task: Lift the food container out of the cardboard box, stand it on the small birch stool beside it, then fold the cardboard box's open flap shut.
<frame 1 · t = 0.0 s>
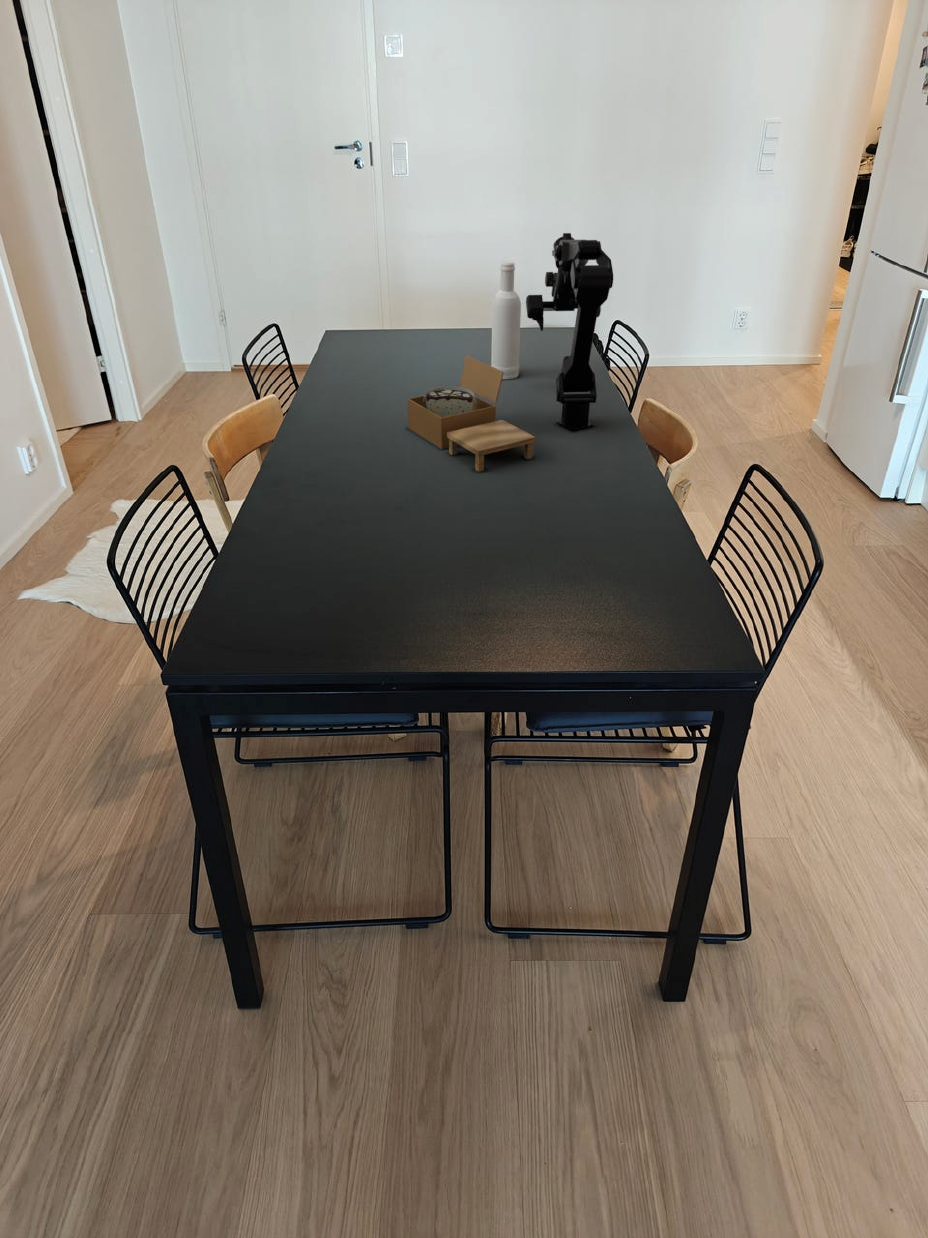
hand: (558, 329, 222), 15 cm above the table, tool tilted 35°, fingers open, 9 cm apart
flap: (481, 378, 198), point 12 cm above the table, hinge at 105.0°
stool: (490, 455, 188), on the table
cardboard box: (451, 432, 200), on the table
bottle: (504, 375, 238), on the table
food container: (451, 431, 200), resting on cardboard box
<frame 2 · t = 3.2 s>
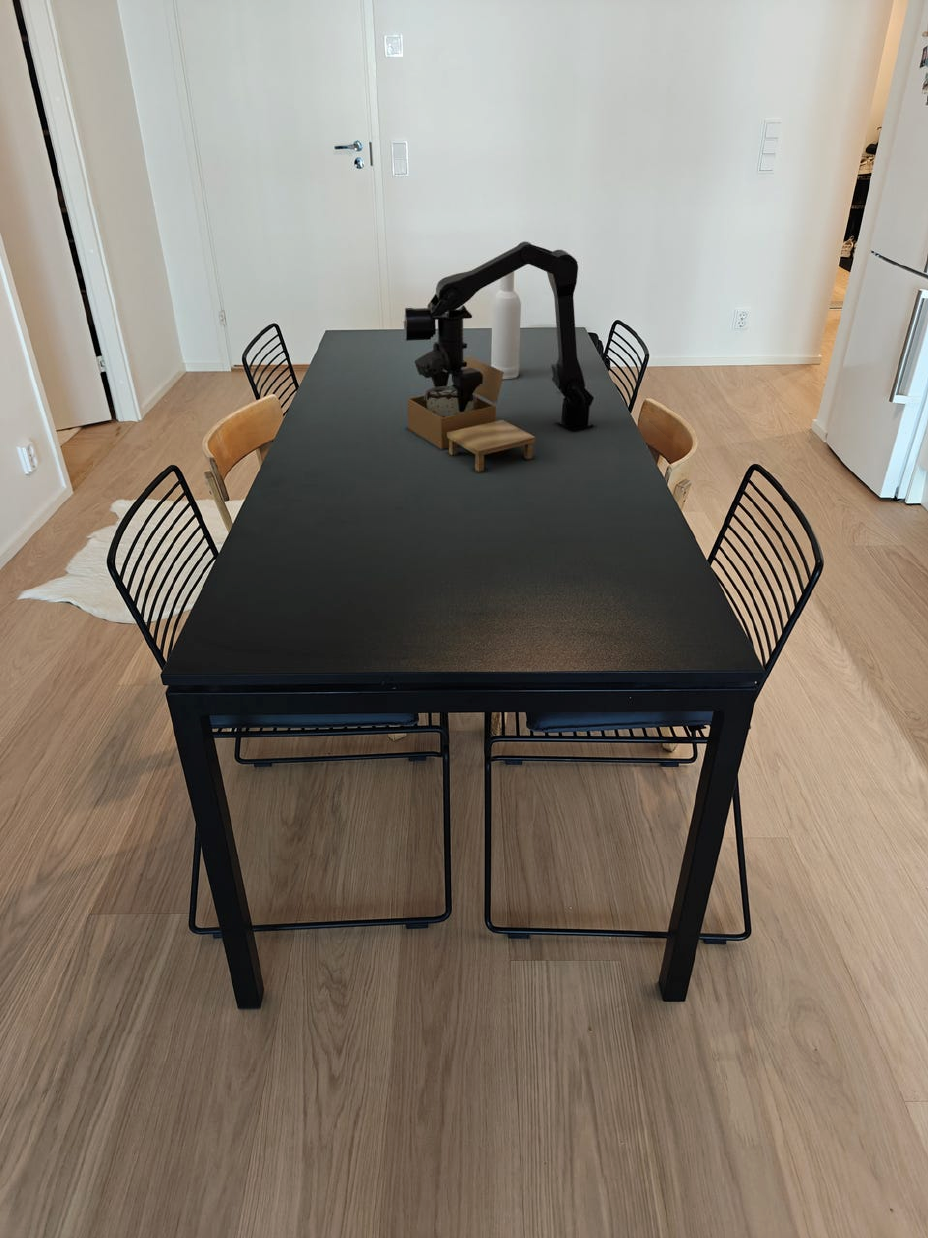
hand: (451, 406, 197), 7 cm above the table, tool pointing down, fingers open, 9 cm apart
nothing on the table moved.
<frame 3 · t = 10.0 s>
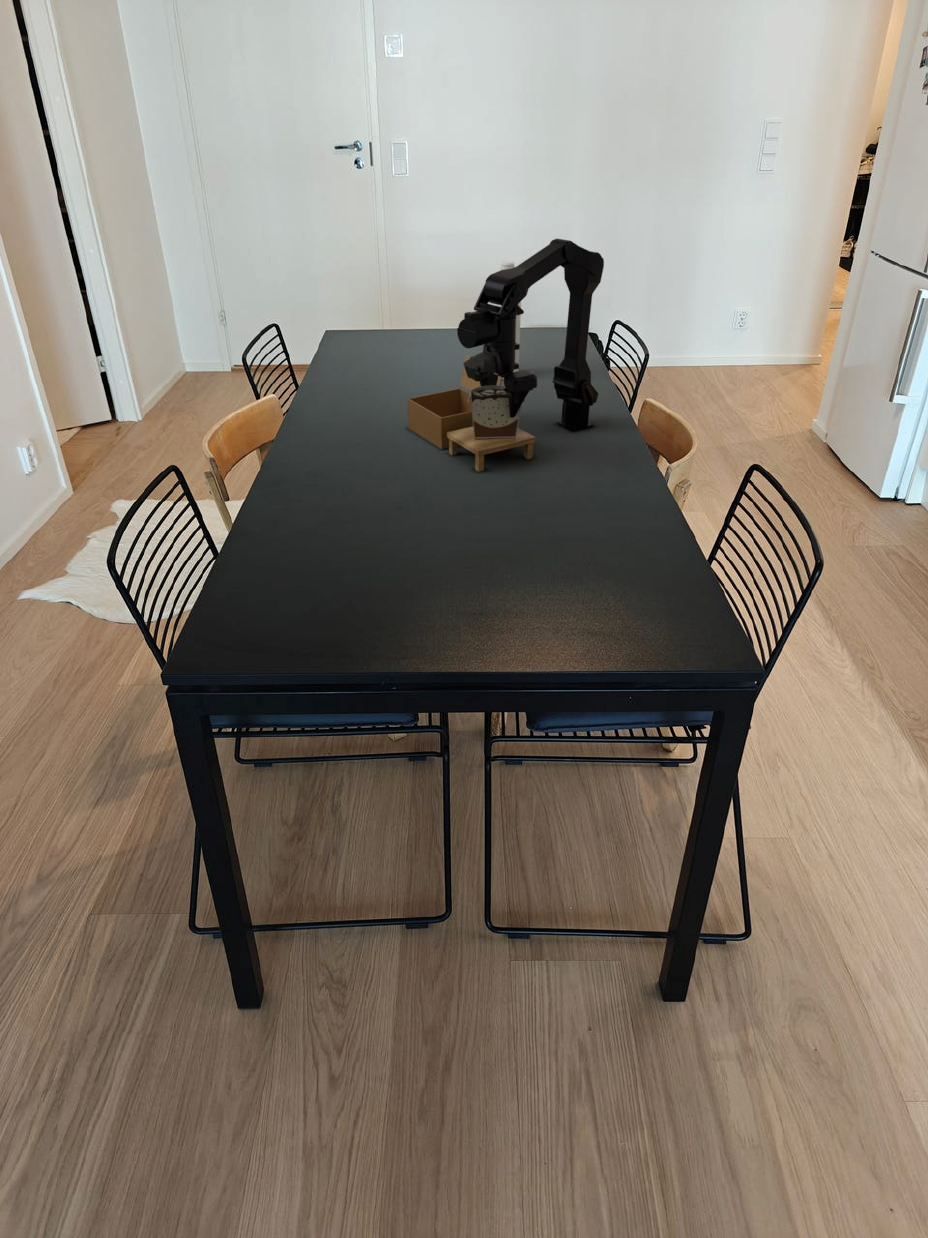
hand: (500, 410, 184), 10 cm above the table, tool pointing down, fingers open, 9 cm apart
food container: (493, 434, 186), point 5 cm above the table
everything else where it was.
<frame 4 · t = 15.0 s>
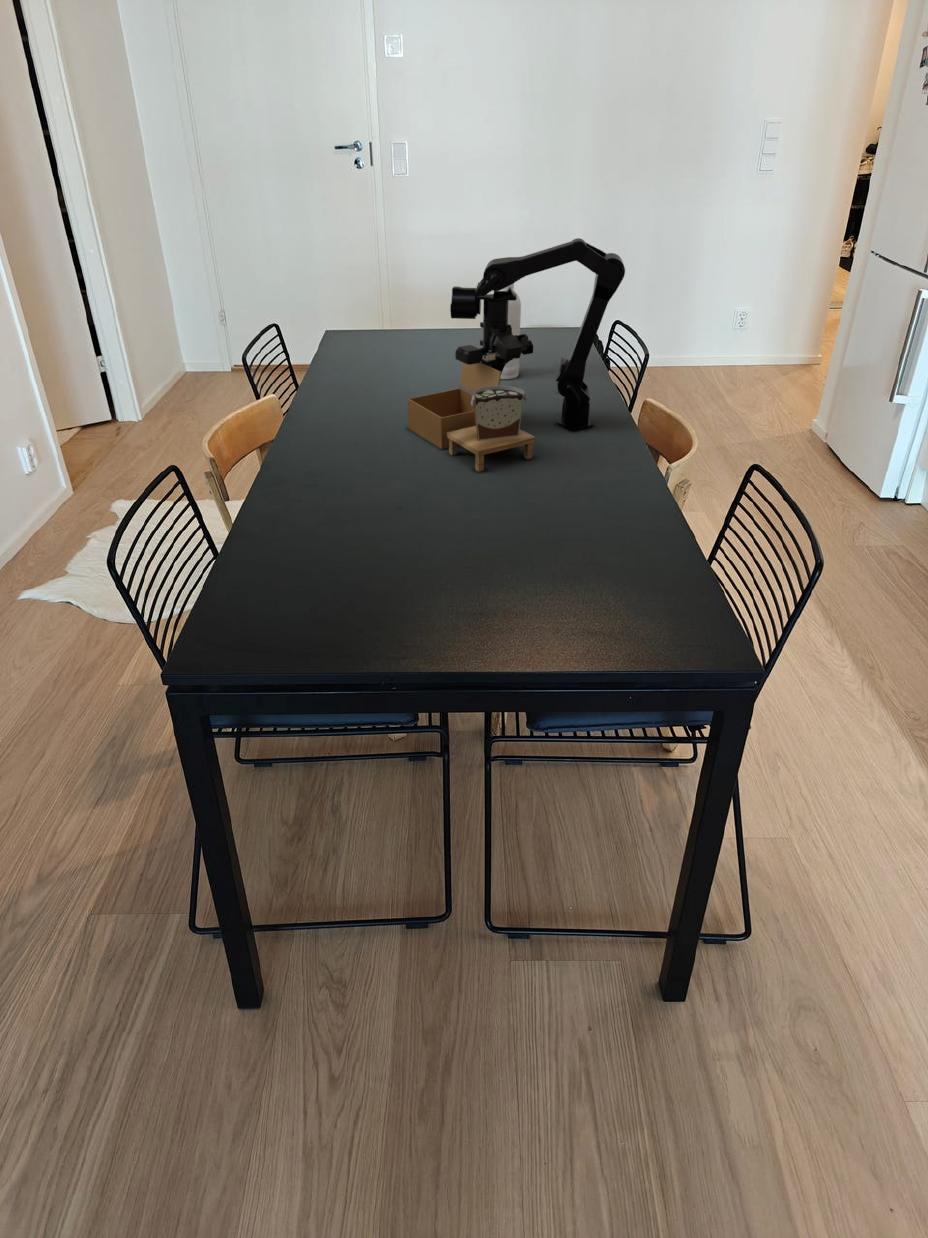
hand: (494, 386, 201), 9 cm above the table, tool pointing down, fingers closed
flap: (479, 378, 198), point 12 cm above the table, hinge at 99.3°
food container: (494, 434, 186), point 5 cm above the table, touching stool
everything else where it was.
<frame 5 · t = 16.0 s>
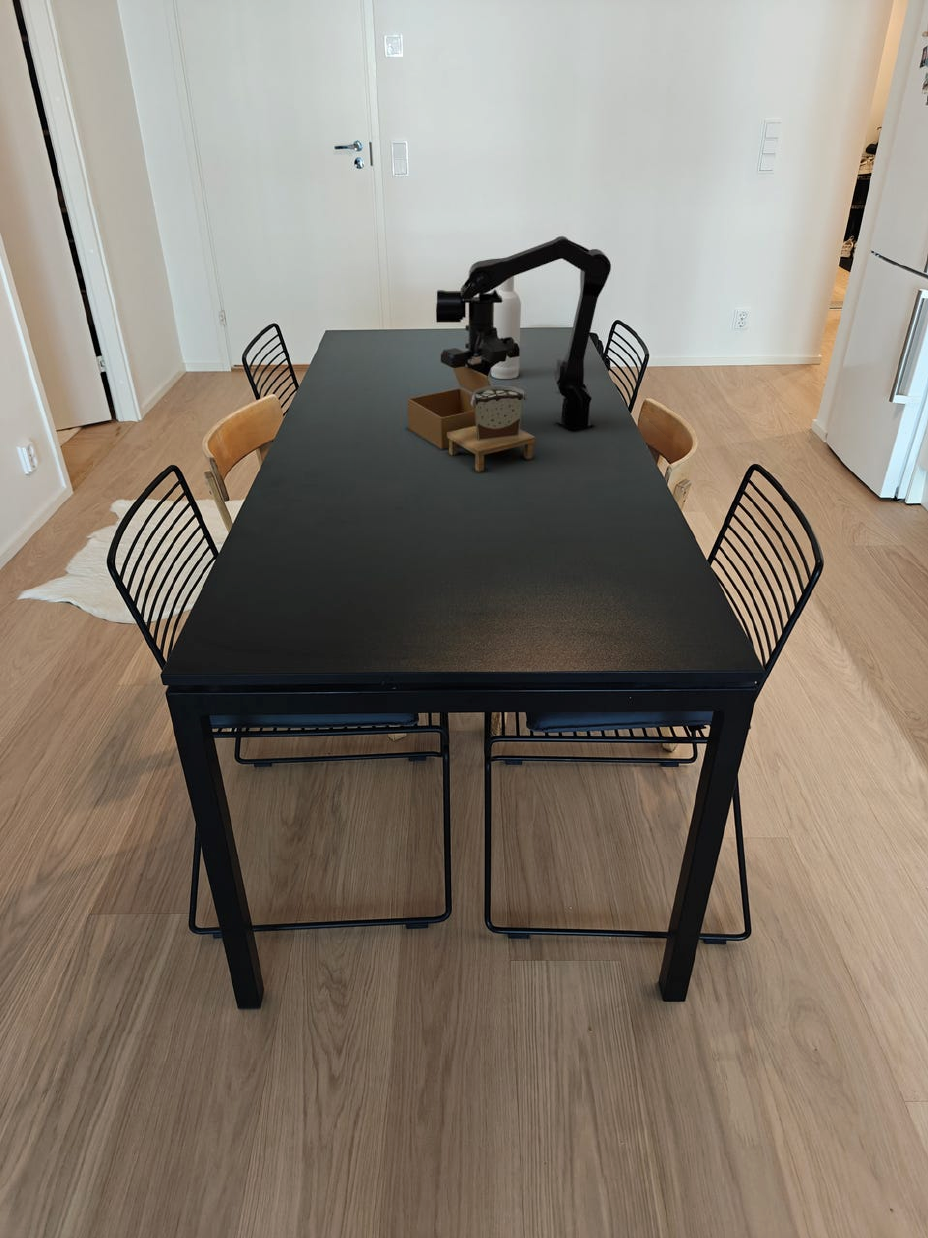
hand: (480, 389, 199), 9 cm above the table, tool pointing down, fingers closed
flap: (472, 380, 197), point 11 cm above the table, hinge at 68.5°, touching gripper
everything else where it was.
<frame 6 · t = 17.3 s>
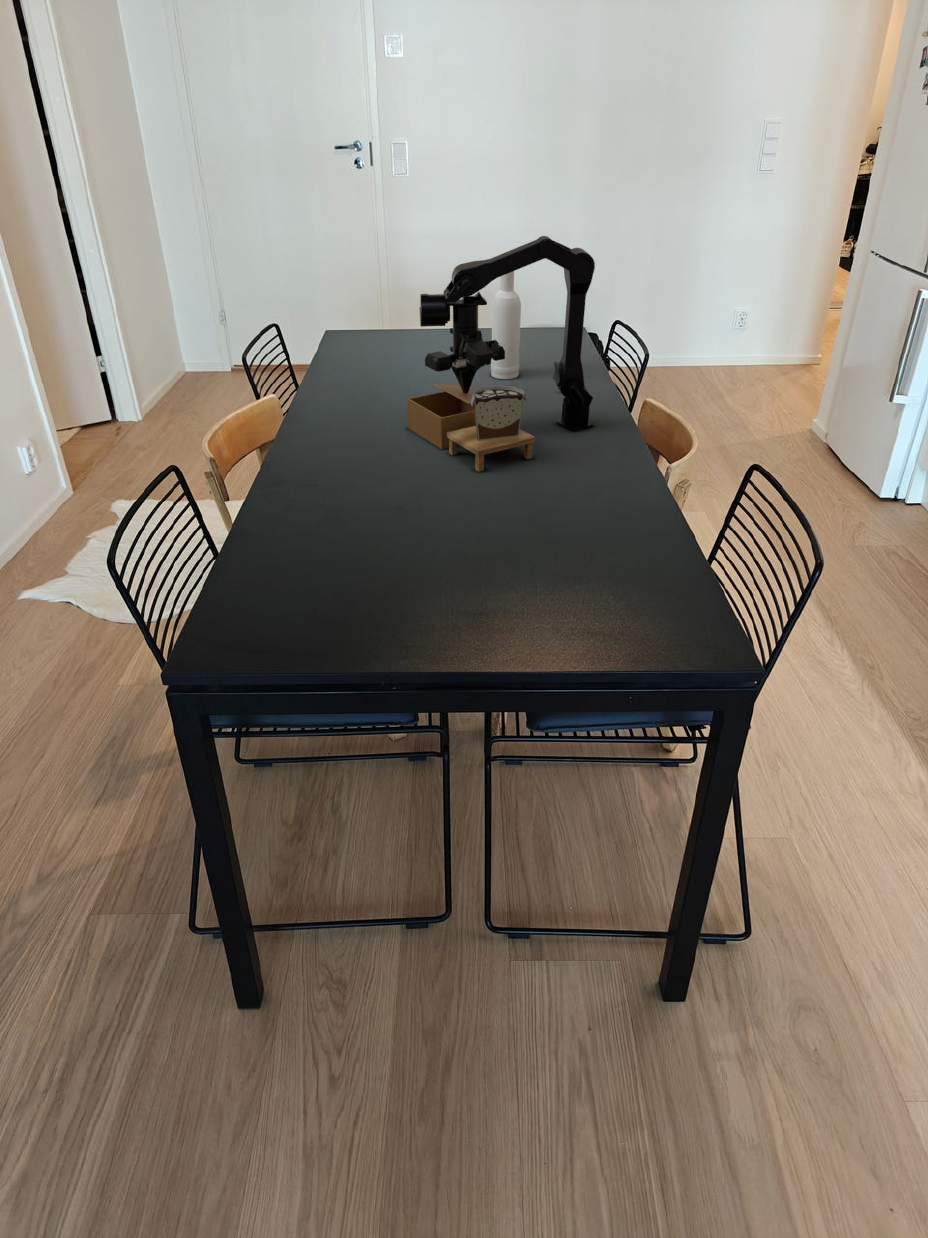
hand: (465, 393, 197), 9 cm above the table, tool pointing down, fingers closed
flap: (464, 394, 197), point 9 cm above the table, hinge at 11.0°, touching gripper
everything else where it was.
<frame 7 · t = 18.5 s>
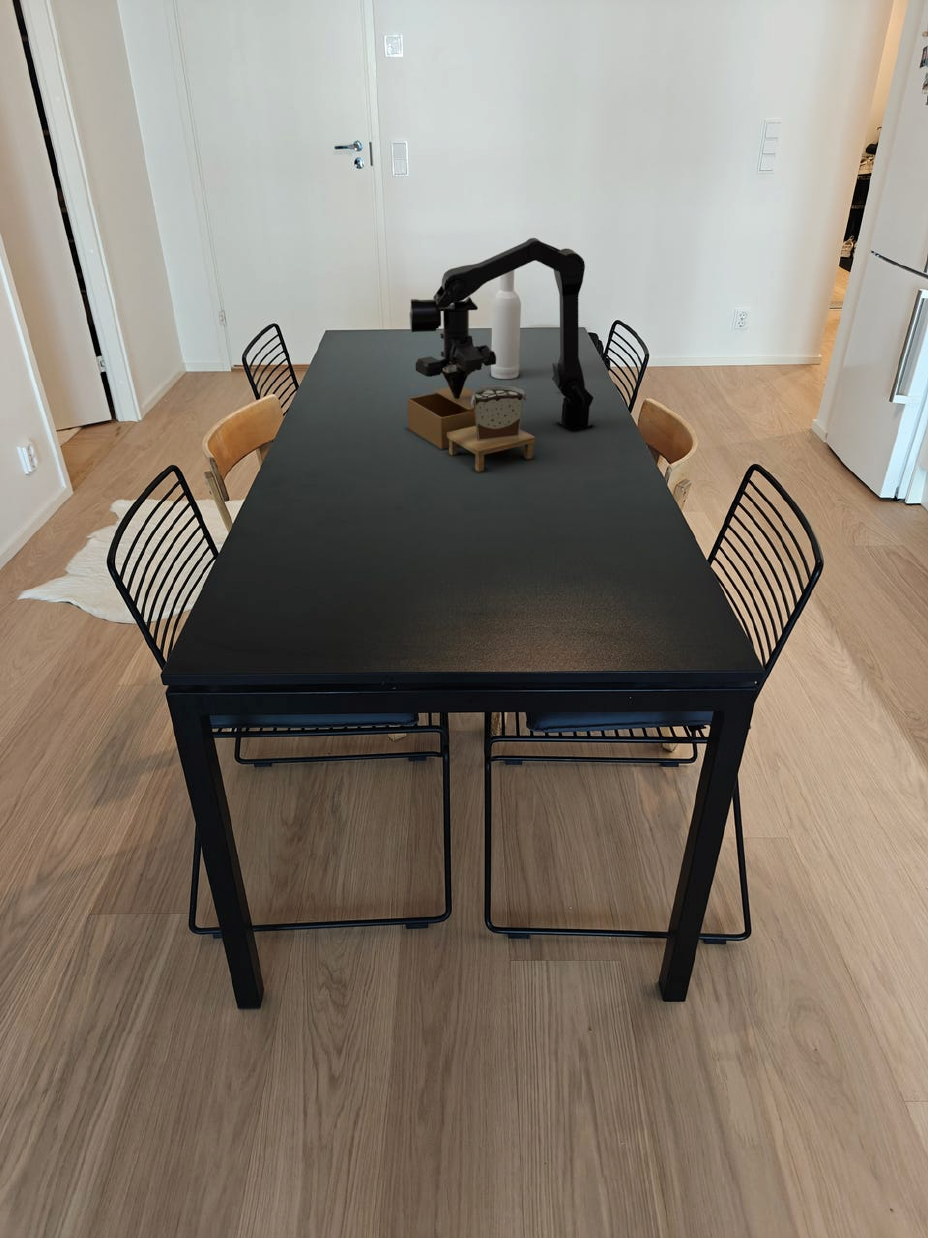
hand: (456, 398, 197), 8 cm above the table, tool pointing down, fingers closed, pressing on flap
flap: (464, 397, 198), point 8 cm above the table, hinge at -0.4°, touching gripper
everything else where it was.
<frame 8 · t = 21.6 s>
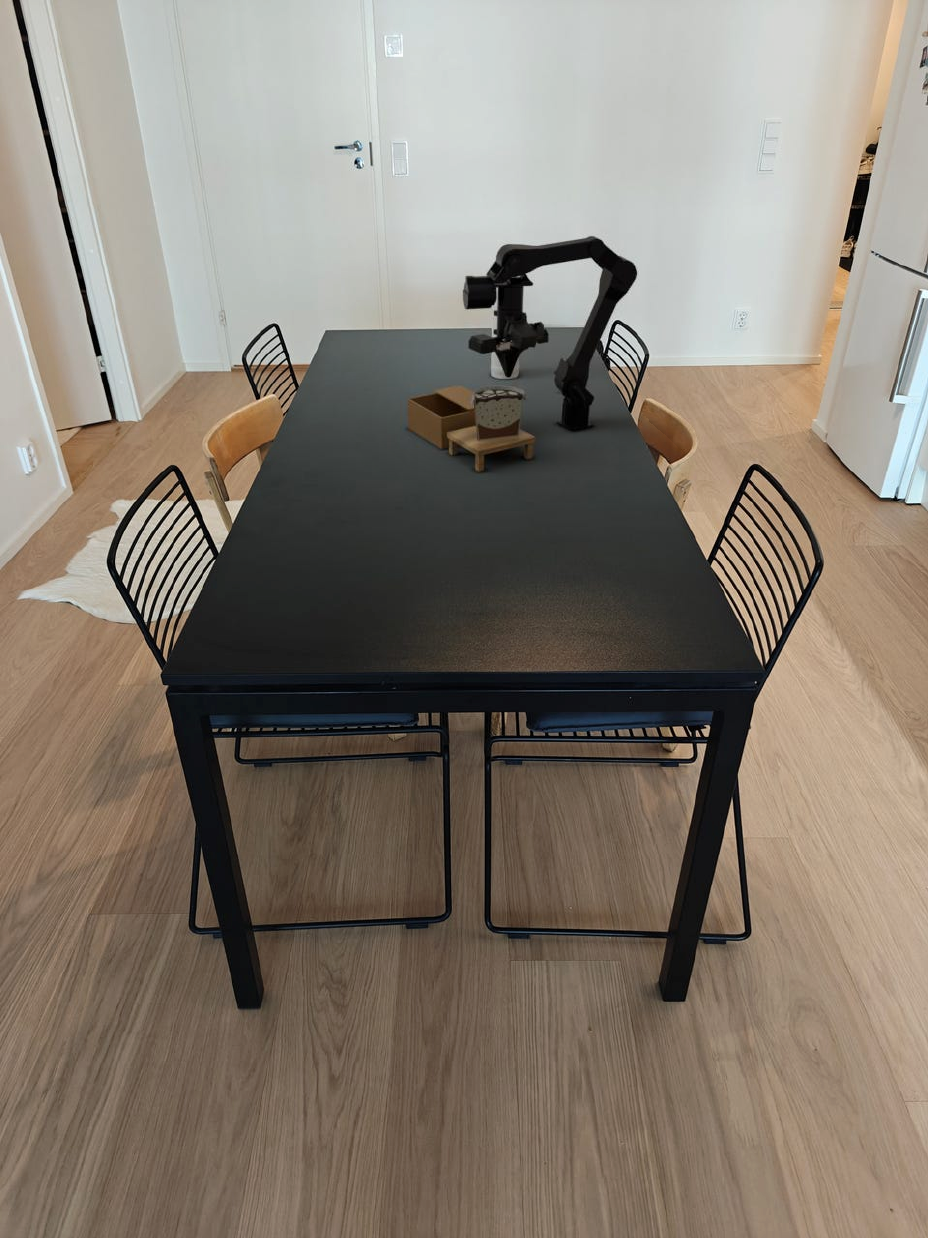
hand: (508, 376, 194), 13 cm above the table, tool pointing down, fingers closed
flap: (464, 397, 198), point 8 cm above the table, hinge at -0.5°
everything else where it was.
at the end: food container inside the target area on the stool (0.9 cm from its centre), point 4.8 cm above the stool's base; food container tilted 0°; flap at +0° (first picture: +105°) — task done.
